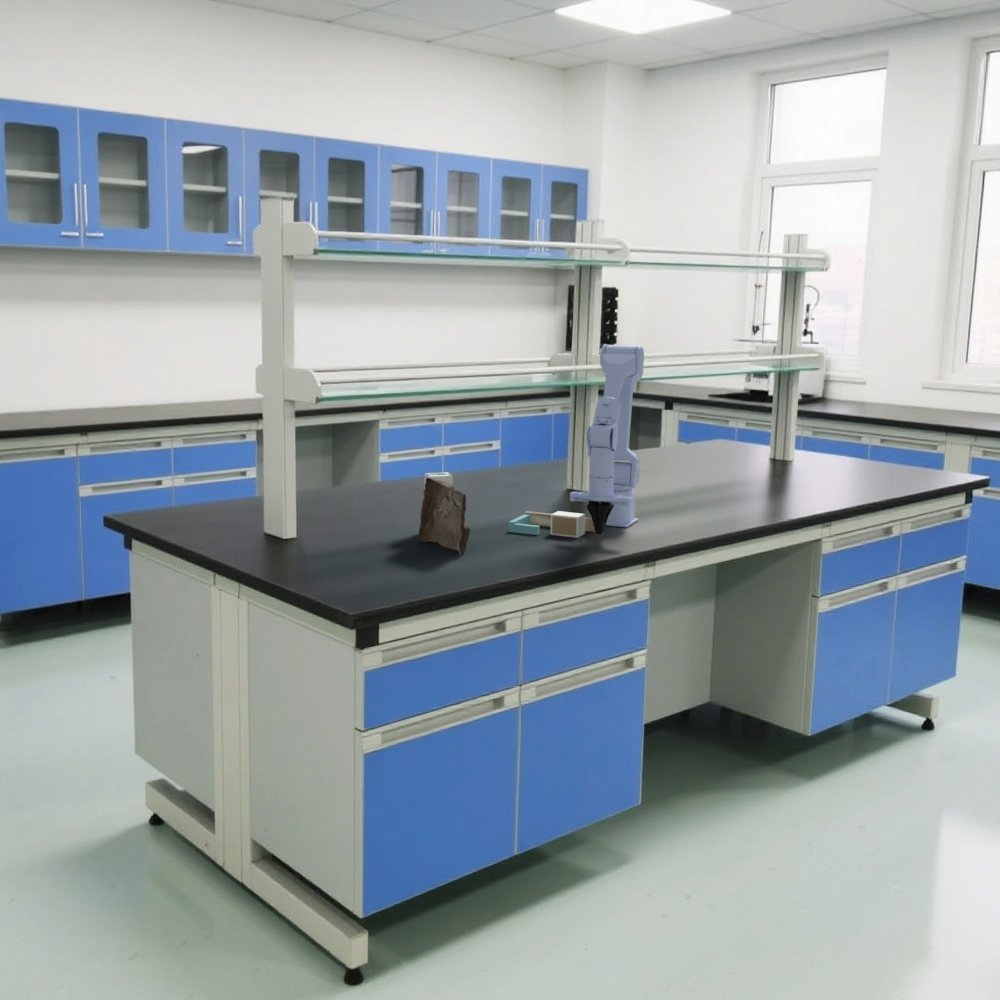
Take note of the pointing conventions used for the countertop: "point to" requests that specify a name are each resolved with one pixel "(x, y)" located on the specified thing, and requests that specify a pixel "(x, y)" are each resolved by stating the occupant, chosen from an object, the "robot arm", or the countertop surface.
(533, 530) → the teal l-shaped block
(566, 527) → the cabinet block
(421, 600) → the countertop surface
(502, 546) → the countertop surface
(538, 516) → the wall board
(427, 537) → the mineral sample
